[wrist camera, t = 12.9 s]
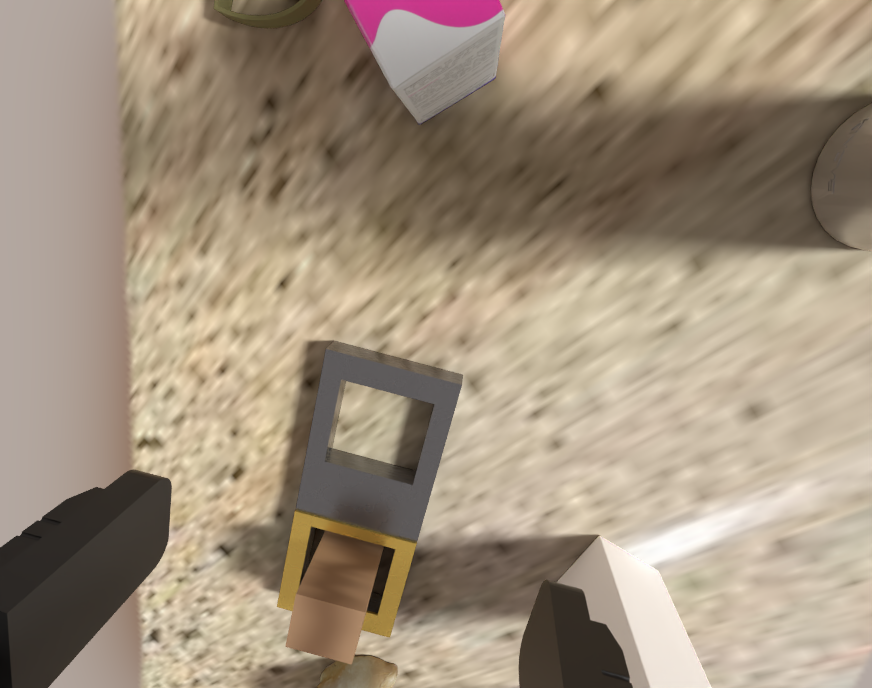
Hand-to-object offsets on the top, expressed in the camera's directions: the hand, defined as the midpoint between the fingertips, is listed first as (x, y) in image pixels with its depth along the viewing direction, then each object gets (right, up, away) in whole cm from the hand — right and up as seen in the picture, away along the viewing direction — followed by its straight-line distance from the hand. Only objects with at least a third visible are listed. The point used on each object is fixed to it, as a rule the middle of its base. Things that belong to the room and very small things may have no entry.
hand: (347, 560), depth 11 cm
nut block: (-5, -13, +33) cm, 36 cm away
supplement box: (+2, +22, +21) cm, 31 cm away
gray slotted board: (-4, -8, +31) cm, 32 cm away
